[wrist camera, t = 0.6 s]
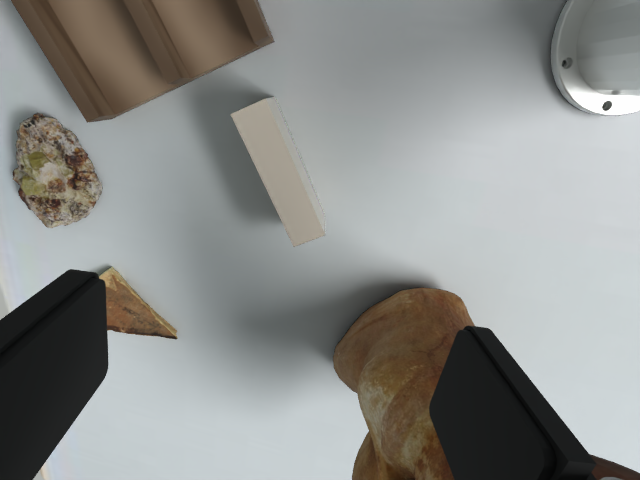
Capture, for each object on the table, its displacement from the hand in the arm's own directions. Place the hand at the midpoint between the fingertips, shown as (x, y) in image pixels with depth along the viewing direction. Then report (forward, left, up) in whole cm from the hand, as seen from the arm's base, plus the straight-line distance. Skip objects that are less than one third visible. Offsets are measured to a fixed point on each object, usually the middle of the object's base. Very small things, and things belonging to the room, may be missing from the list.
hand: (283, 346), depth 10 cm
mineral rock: (+23, -8, -28) cm, 37 cm away
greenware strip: (+2, 0, -28) cm, 28 cm away
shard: (+25, +7, -28) cm, 38 cm away
